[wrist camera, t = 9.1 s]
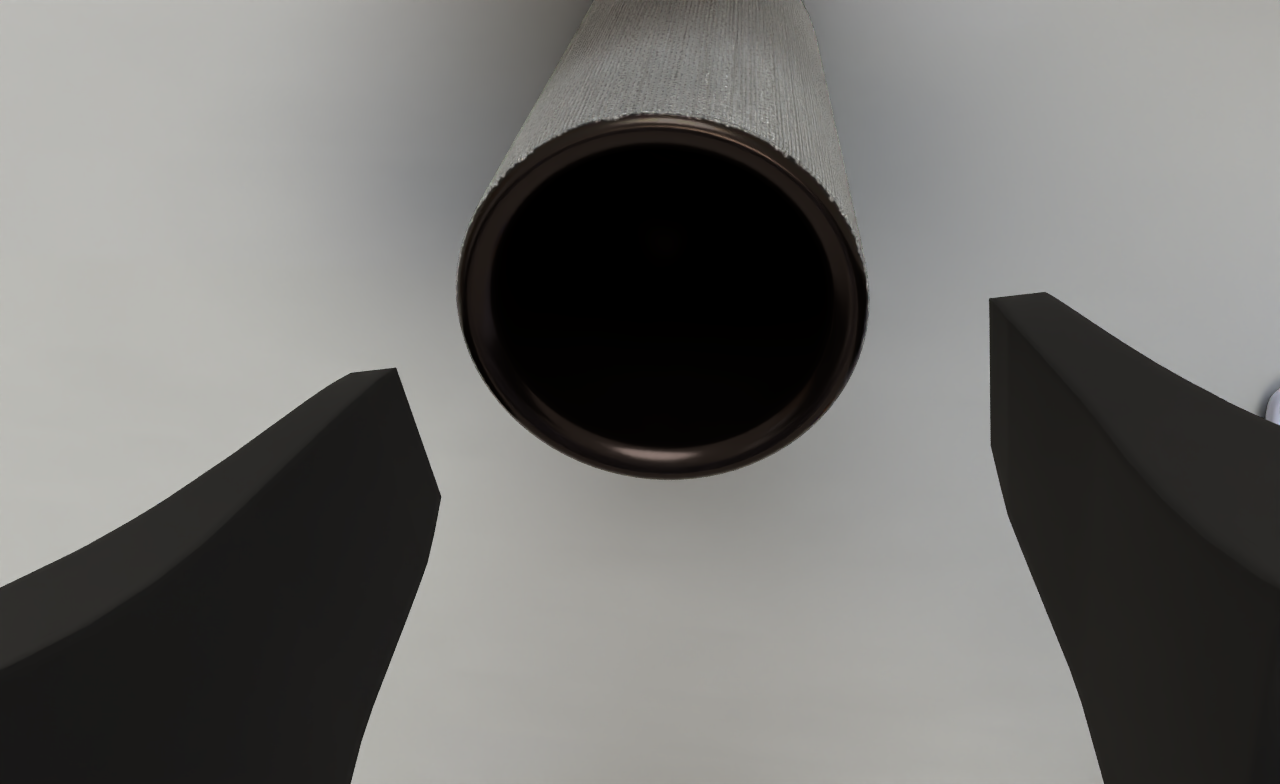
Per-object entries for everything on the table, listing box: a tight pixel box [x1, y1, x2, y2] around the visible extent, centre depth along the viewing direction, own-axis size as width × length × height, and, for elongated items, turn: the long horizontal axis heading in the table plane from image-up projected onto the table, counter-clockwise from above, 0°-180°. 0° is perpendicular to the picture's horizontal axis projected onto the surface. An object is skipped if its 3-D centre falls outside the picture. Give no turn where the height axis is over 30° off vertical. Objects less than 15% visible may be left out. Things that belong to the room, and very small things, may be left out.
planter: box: [456, 0, 869, 480], centre depth 16 cm, size 4×4×10 cm
